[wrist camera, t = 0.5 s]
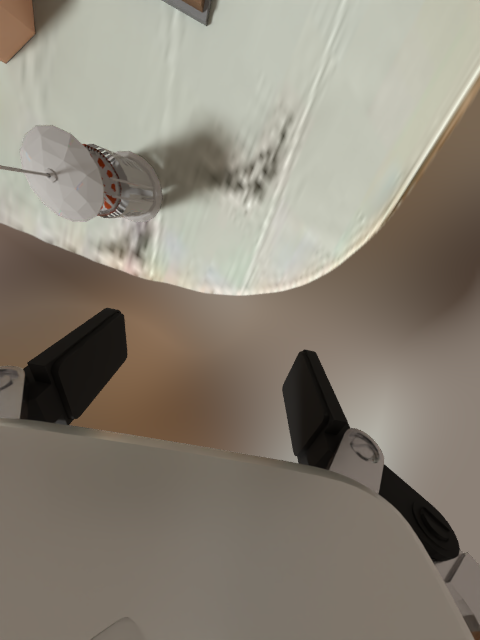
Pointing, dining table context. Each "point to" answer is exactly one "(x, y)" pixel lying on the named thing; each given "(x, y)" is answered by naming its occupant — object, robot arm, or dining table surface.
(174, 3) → the mat
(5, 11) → the bowl
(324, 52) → the dining table surface
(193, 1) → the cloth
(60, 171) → the lantern
